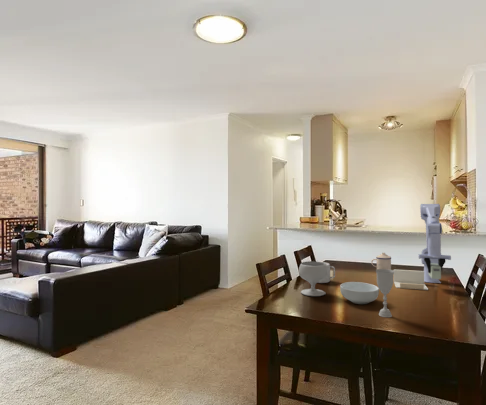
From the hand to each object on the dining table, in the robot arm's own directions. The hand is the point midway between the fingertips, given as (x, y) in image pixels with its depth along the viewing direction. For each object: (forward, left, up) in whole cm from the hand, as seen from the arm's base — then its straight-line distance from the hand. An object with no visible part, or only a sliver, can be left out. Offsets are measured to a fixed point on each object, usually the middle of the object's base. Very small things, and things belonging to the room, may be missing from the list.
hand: (434, 272), depth 175 cm
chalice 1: (+26, -59, -8) cm, 65 cm away
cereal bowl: (+33, -37, -8) cm, 50 cm away
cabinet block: (0, 0, -2) cm, 2 cm away
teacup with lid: (-39, -24, -8) cm, 46 cm away
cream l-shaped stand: (-3, -11, -8) cm, 14 cm away
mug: (-1, -57, -8) cm, 57 cm away
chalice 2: (+49, -27, -8) cm, 56 cm away
